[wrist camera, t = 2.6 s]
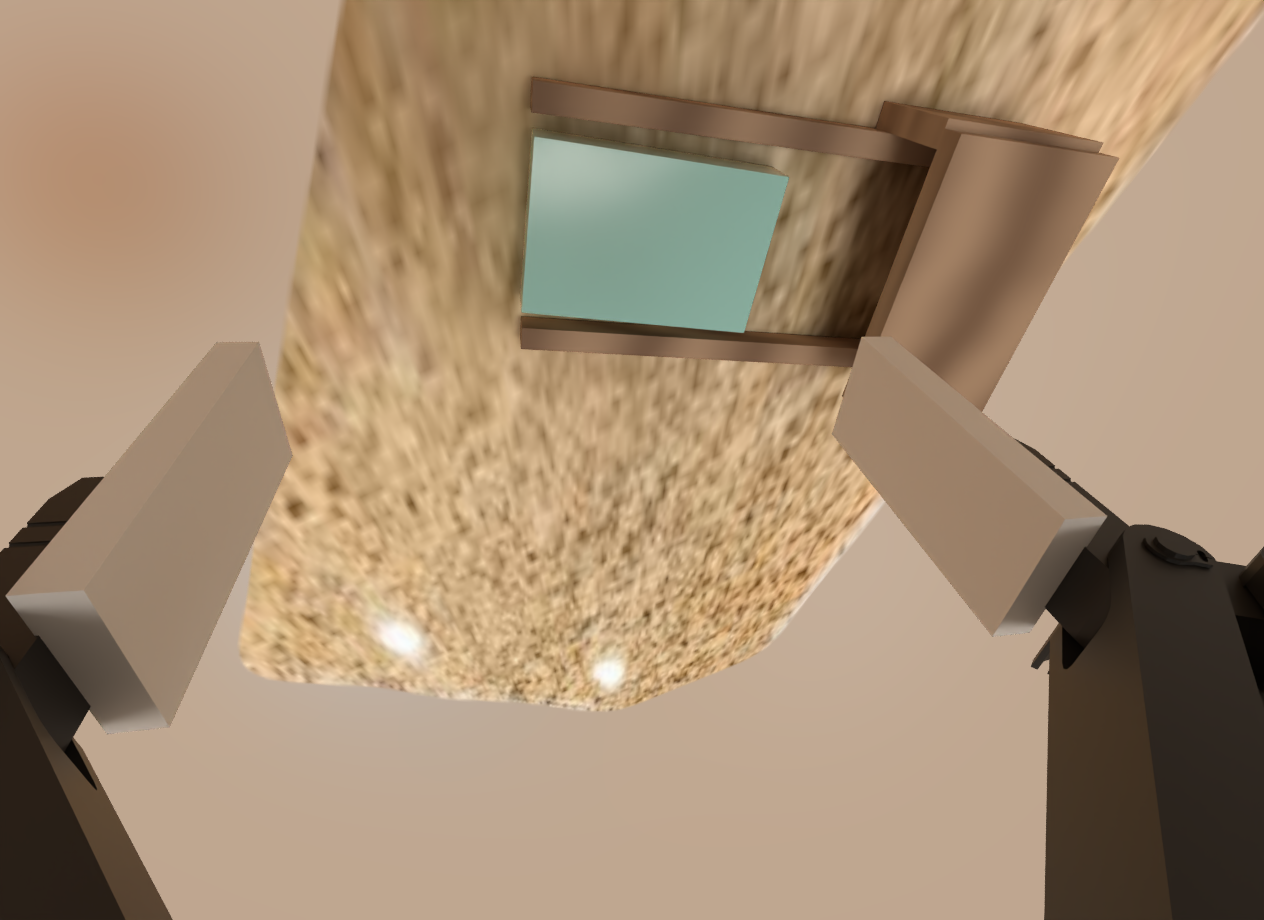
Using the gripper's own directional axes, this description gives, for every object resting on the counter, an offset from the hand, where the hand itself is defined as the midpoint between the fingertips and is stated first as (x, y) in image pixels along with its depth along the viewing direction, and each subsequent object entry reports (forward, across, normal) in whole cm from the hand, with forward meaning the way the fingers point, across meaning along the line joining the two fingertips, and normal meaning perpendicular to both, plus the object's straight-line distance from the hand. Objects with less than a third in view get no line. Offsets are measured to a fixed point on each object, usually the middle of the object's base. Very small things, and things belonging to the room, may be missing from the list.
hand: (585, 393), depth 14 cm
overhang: (+20, +12, -2) cm, 23 cm away
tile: (+20, +5, -2) cm, 21 cm away
